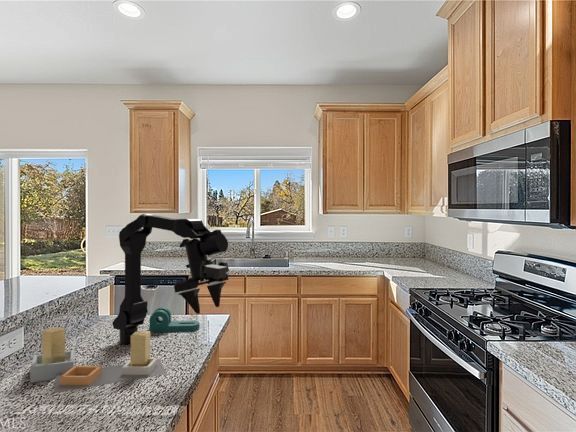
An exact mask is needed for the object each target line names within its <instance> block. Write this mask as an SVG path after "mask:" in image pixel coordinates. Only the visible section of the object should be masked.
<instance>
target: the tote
mask: <svg viewBox="0 0 576 432" xmlns="http://www.w3.org/2000/svg"><path fill="white" fill-rule="evenodd" d="M30 364H31V365H30V368H29V369H30V371H29V372H30V373H29V379H30V380H29V381H30V382H29V383H31V384H32V383H37V382H38V383H39V382H43V381H45V382H46V381H51V380H56V374H63V373H66V372H67V371H69V370H70V369H71V368H73V367H74V366H75V350H74V349H72V350H65V362H59V363H52V364H45V365H42V353H41V354H34V356H33V358H32V362H31V363H30Z"/></svg>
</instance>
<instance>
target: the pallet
mask: <svg viewBox="0 0 576 432" xmlns="http://www.w3.org/2000/svg"><path fill="white" fill-rule="evenodd" d="M165 369H166V368H165V367H164V365H163V363H162V361H161V359H160V358H158V357H150V364H149V365H148V366H131V358H130V359H129V360H128V361H127V362H126V363H124V364H117V365H110V366H102V365H74V367H73V368H71V369H70V370H69V371H67V372H63V373H62V374H56V378H55V379H54V388H53V391H52V392H53V394H55V393H56V394H57V393H60V392H68V391H74V390H79V389H85V388H92V387H96V386H102V385H103V386H104V385H108V384H109V385H111V384H116V383H121V382H126V381H133V380H138V379H145V378H151V377H155V376H156V377H157V376H163V375H167V371H166V370H165Z"/></svg>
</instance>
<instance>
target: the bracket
mask: <svg viewBox="0 0 576 432" xmlns="http://www.w3.org/2000/svg"><path fill="white" fill-rule="evenodd" d="M171 313H172V312H171V311H170V309H168V307H164V306H161V307H157V308H156V309H155V310H154V311H153V312H152V314H151V315H150V317H149V330H148V331H150V333H168V332H169V331H175V332H194V331H199V330H200V326H201V324H200V323H201V322H199V321H197V320H177V321H176V320H174V321H173V320H172V314H171Z"/></svg>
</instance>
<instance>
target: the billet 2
mask: <svg viewBox="0 0 576 432" xmlns="http://www.w3.org/2000/svg"><path fill="white" fill-rule="evenodd" d="M150 358H151V332H150V331H149V330H148V331H147V330H145V331H143V330H139V331H136V332H135V333H133V334H132V335H131V345H130V359H131V366H148V365H149V364H150Z"/></svg>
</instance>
